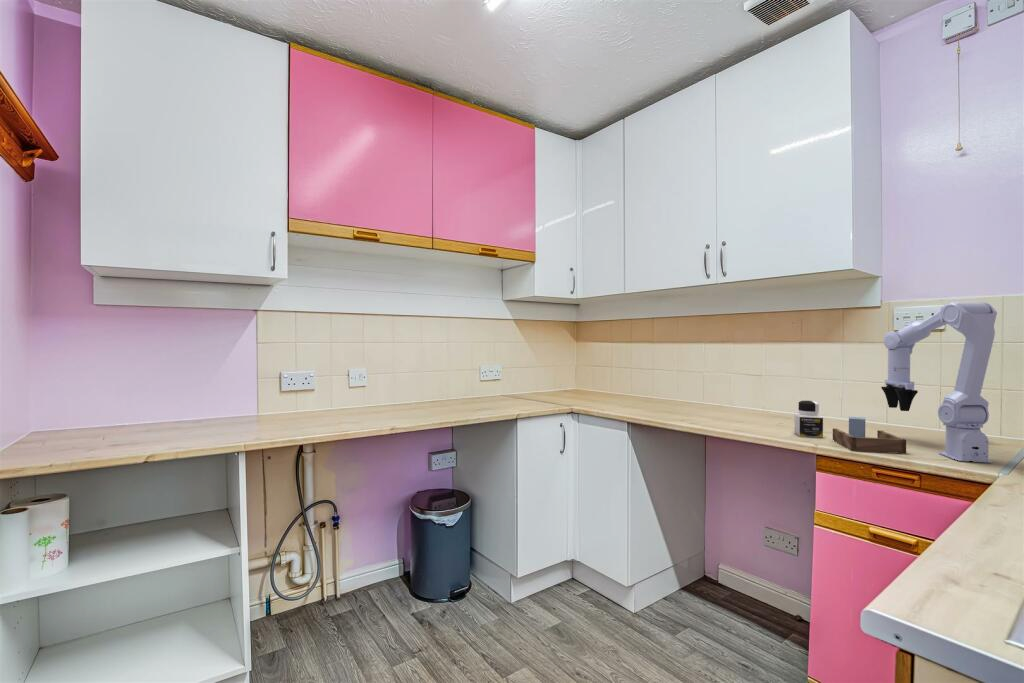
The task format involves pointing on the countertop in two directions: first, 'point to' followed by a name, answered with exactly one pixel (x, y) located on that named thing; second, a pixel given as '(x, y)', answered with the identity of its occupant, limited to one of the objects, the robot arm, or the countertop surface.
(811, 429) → the medicine bottle
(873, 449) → the walnut bay
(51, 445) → the countertop surface
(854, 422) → the blue block
